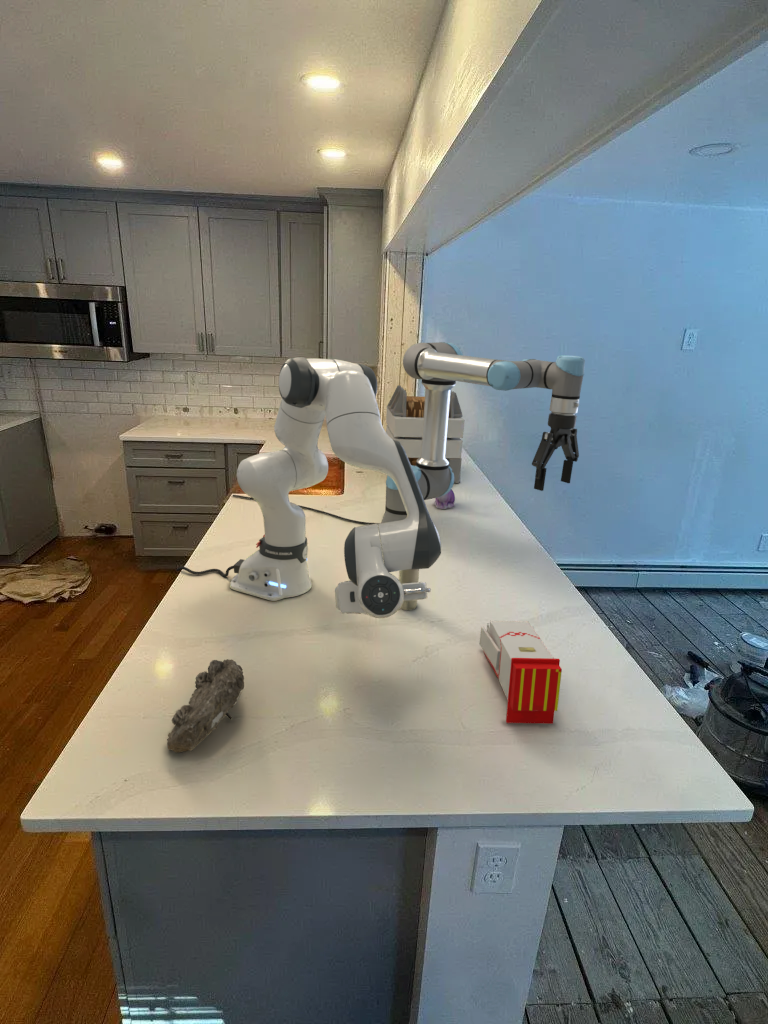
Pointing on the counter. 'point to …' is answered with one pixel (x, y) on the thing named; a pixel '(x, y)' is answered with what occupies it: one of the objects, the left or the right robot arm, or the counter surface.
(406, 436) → the white storage drawers
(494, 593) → the counter surface
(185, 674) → the counter surface
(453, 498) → the figurine
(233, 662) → the fossil
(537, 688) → the toy
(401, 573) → the bottle
